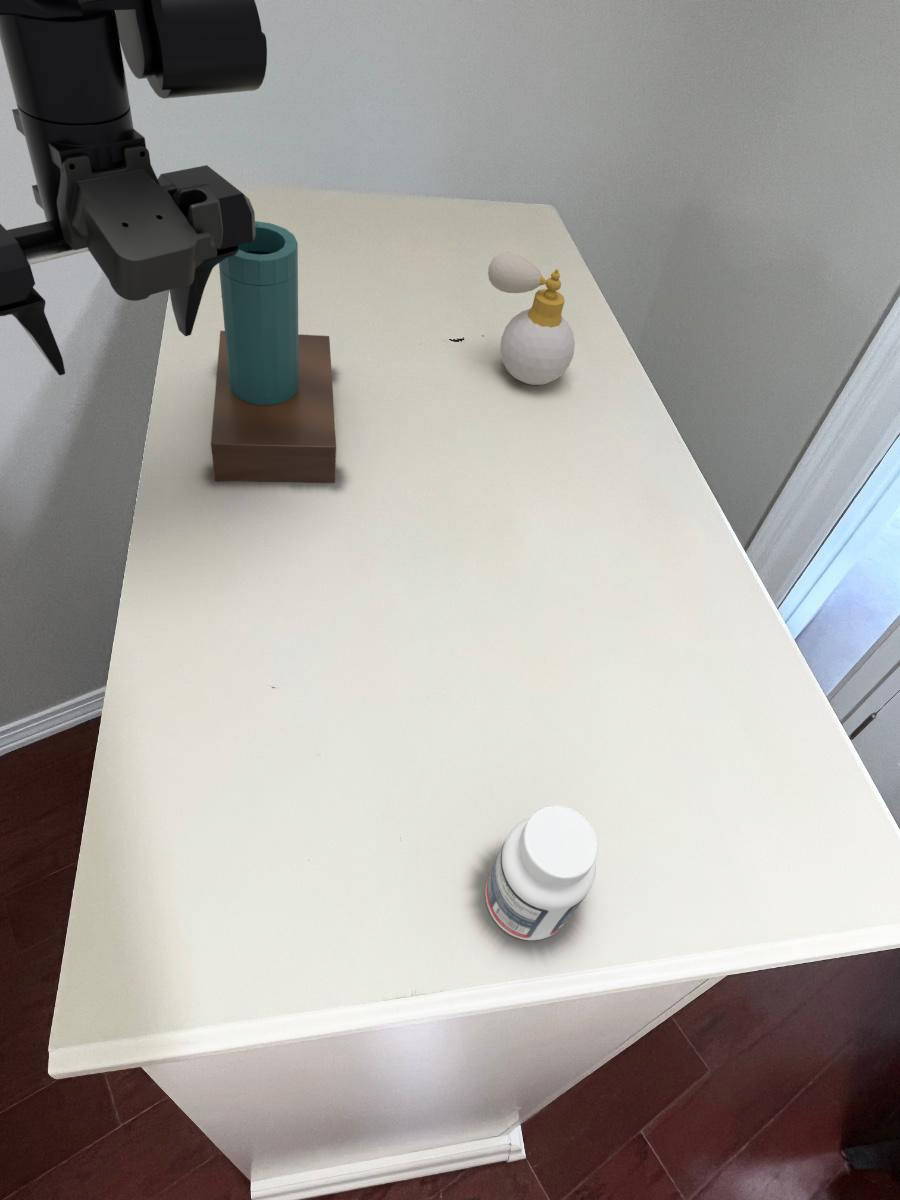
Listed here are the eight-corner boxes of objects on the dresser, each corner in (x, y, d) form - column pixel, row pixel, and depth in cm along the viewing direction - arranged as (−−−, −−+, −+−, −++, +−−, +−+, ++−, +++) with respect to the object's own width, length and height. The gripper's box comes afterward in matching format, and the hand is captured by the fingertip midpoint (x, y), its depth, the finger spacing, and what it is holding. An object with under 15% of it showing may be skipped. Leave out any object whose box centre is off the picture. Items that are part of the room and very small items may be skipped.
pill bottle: (556, 850, 50) (596, 788, 43) (578, 935, 47) (625, 883, 40) (476, 860, 49) (503, 798, 42) (493, 948, 46) (525, 896, 39)
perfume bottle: (573, 398, 81) (607, 290, 72) (481, 397, 79) (504, 285, 70) (555, 355, 86) (584, 248, 77) (467, 353, 84) (487, 242, 74)
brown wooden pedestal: (334, 482, 68) (336, 447, 65) (215, 481, 67) (210, 444, 63) (328, 371, 78) (329, 335, 75) (223, 367, 76) (220, 330, 73)
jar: (255, 414, 67) (246, 267, 57) (216, 378, 69) (201, 231, 59) (311, 391, 70) (312, 248, 60) (272, 357, 72) (267, 214, 62)
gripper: (-47, 202, 35) (43, 466, 47) (303, 136, 44) (304, 371, 56) (-137, 104, 40) (-34, 369, 52) (198, 63, 49) (219, 296, 61)
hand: (124, 351), depth 55 cm, fingers open, 9 cm apart
